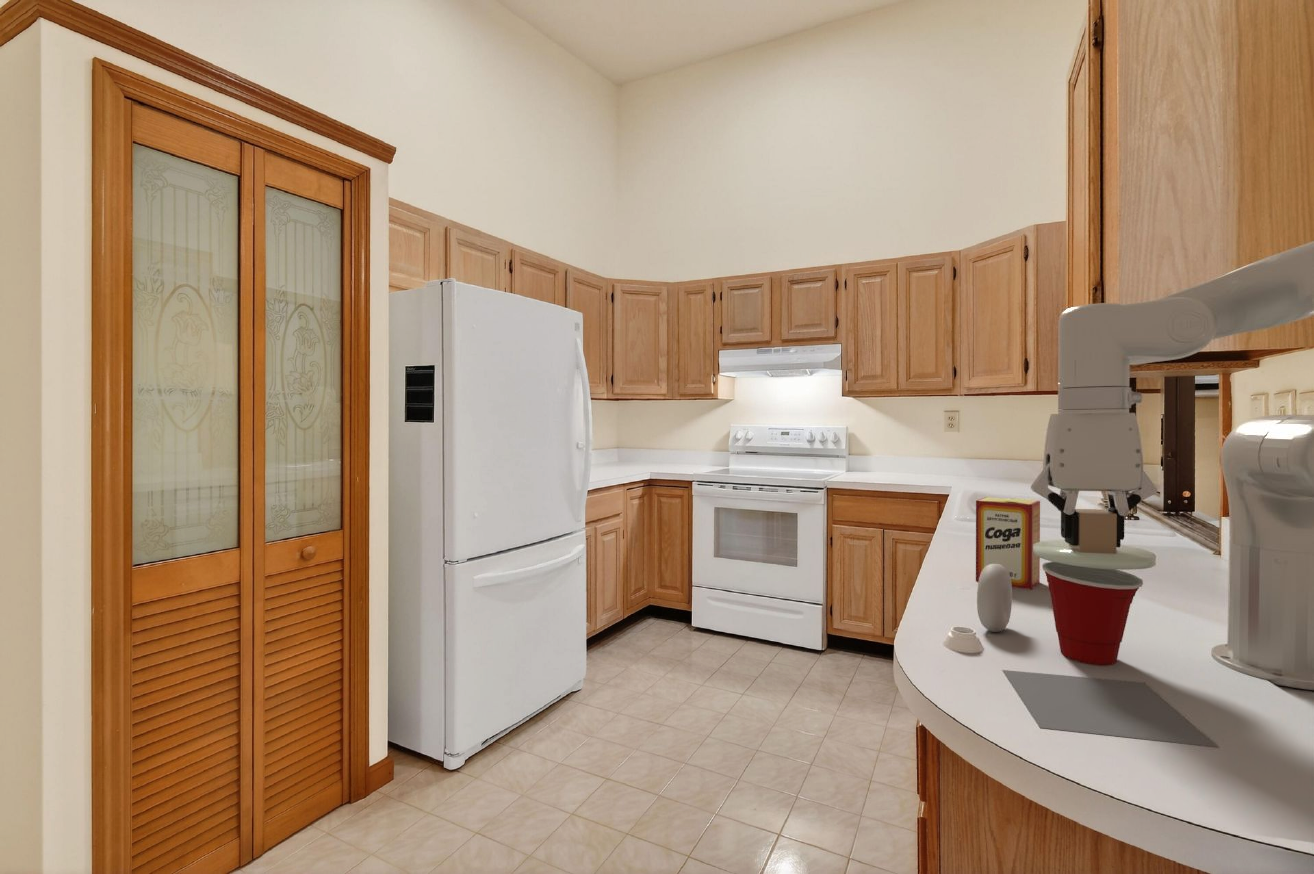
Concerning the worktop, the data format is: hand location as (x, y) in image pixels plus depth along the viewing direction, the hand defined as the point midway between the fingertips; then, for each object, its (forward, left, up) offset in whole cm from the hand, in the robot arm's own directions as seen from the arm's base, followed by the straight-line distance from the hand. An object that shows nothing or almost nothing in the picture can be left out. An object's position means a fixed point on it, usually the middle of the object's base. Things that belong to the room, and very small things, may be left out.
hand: (1091, 543), depth 81 cm
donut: (+9, -10, -16) cm, 21 cm away
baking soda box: (0, -41, -16) cm, 44 cm away
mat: (+5, +15, -15) cm, 22 cm away
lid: (0, 0, -2) cm, 2 cm away
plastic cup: (0, 0, -16) cm, 16 cm away
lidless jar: (+15, 0, -16) cm, 22 cm away
